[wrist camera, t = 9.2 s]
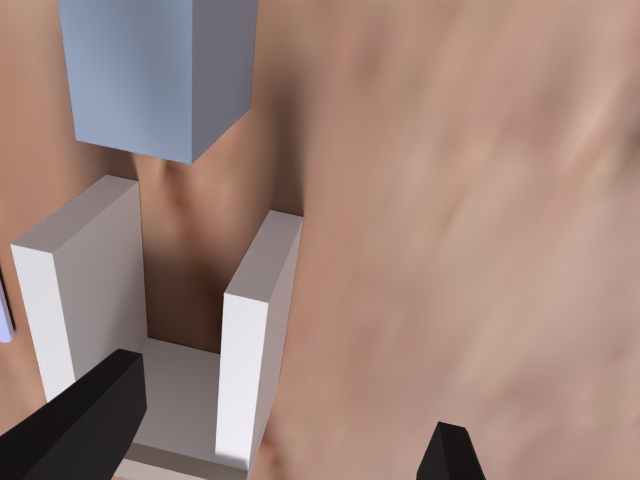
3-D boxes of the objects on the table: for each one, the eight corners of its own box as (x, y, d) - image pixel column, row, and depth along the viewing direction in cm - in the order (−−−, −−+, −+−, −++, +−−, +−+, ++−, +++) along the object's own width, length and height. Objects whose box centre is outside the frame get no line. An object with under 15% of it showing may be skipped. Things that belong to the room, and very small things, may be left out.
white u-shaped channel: (123, 350, 27) (45, 457, 21) (106, 174, 21) (-8, 256, 15) (277, 387, 27) (240, 507, 21) (303, 217, 21) (261, 319, 15)
